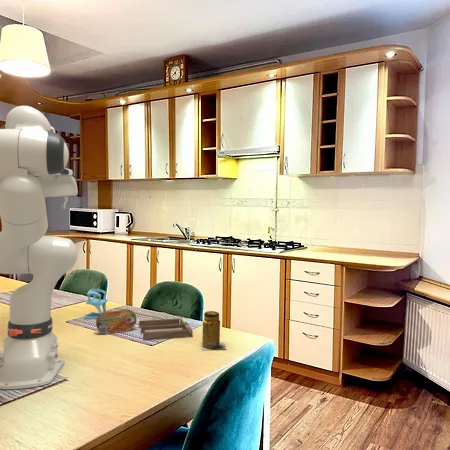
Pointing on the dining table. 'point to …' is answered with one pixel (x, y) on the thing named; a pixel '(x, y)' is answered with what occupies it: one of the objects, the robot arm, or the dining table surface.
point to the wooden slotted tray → (165, 329)
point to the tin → (116, 321)
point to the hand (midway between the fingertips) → (49, 209)
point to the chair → (96, 302)
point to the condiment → (211, 332)
